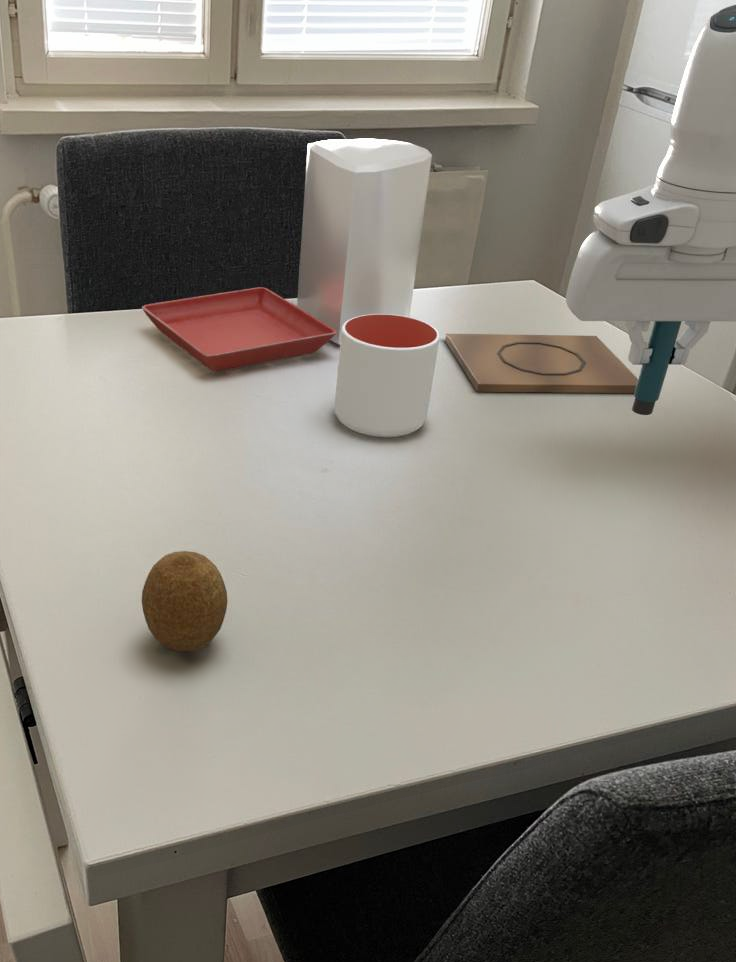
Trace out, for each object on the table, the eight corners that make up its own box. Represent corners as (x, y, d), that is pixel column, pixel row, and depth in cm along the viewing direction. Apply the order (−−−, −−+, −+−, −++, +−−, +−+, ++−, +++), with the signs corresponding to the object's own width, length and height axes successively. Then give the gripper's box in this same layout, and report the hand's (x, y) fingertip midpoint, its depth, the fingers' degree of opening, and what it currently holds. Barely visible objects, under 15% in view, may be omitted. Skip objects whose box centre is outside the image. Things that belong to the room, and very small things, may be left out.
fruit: (144, 620, 76) (141, 531, 72) (224, 620, 77) (227, 532, 72) (141, 671, 72) (138, 579, 67) (227, 671, 72) (230, 580, 67)
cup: (444, 429, 106) (460, 338, 100) (372, 450, 101) (385, 355, 95) (384, 395, 113) (396, 307, 107) (314, 413, 108) (322, 322, 102)
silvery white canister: (290, 307, 135) (302, 128, 121) (386, 300, 139) (407, 126, 125) (331, 348, 123) (349, 156, 110) (434, 339, 127) (463, 153, 114)
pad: (594, 343, 129) (596, 334, 128) (642, 393, 116) (645, 384, 116) (444, 340, 127) (446, 332, 127) (476, 392, 115) (478, 383, 114)
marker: (648, 406, 102) (686, 278, 94) (658, 416, 100) (697, 286, 92) (626, 406, 102) (661, 278, 94) (635, 416, 100) (672, 286, 92)
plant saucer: (206, 382, 113) (206, 354, 111) (139, 329, 125) (139, 303, 123) (337, 358, 121) (339, 331, 119) (262, 311, 133) (263, 286, 131)
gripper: (789, 207, 93) (740, 350, 101) (578, 204, 91) (547, 350, 99) (825, 226, 88) (771, 375, 96) (603, 223, 86) (568, 375, 94)
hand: (655, 362), depth 98 cm, fingers closed on marker, 2 cm apart
